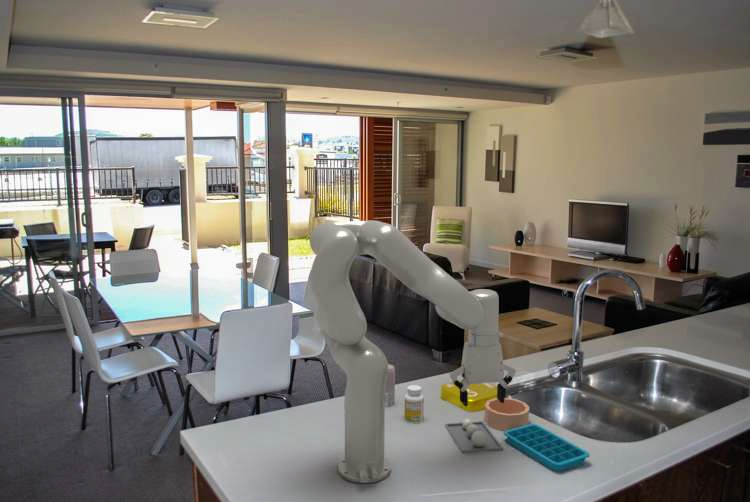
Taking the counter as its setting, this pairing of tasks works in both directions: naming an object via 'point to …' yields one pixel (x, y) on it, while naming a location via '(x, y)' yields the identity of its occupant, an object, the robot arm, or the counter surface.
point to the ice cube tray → (546, 447)
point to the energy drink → (390, 387)
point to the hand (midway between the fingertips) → (482, 402)
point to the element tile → (469, 395)
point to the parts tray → (465, 441)
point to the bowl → (506, 414)
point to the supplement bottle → (414, 404)
